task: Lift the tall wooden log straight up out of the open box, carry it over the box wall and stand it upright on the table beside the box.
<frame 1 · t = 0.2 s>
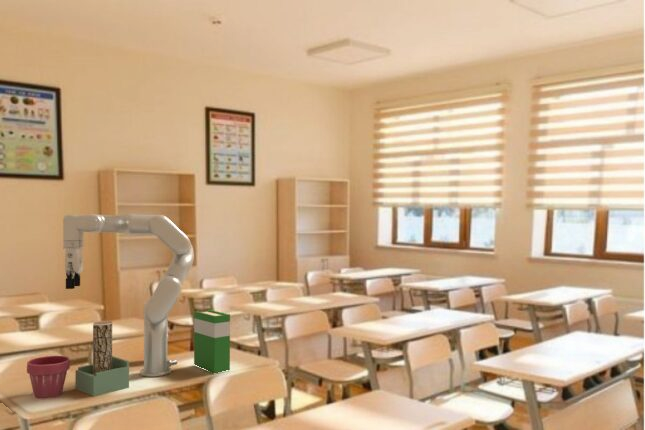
hand: (73, 287, 217), 37 cm above the table, tool pointing down, fingers open, 9 cm apart
open box: (102, 388, 205), on the table
wooden log: (102, 388, 205), resting in open box
plant pot: (48, 395, 197), on the table
plastic cup: (156, 361, 247), on the table
green cereal box: (211, 368, 234), on the table
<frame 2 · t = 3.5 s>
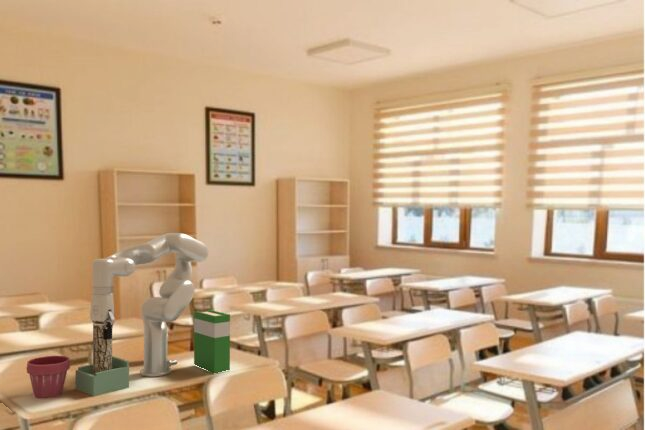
hand: (102, 337, 205), 19 cm above the table, tool pointing down, fingers closed on wooden log, 6 cm apart
wooden log: (102, 388, 205), resting in open box, touching gripper
everything else where it was.
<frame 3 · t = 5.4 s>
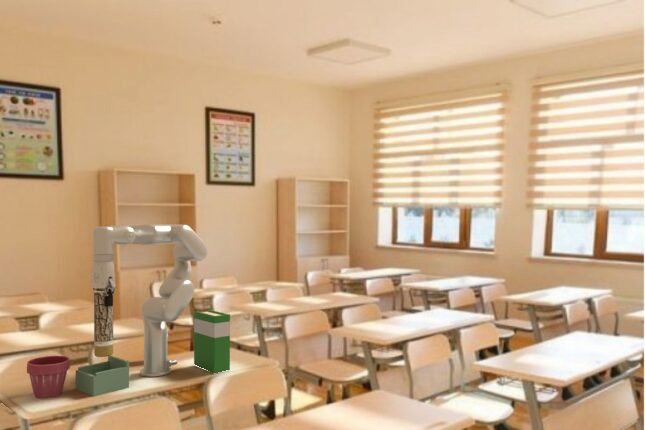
hand: (103, 304, 206), 32 cm above the table, tool pointing down, fingers closed on wooden log, 6 cm apart
wooden log: (103, 355, 206), point 12 cm above the table, touching gripper
everything else where it was.
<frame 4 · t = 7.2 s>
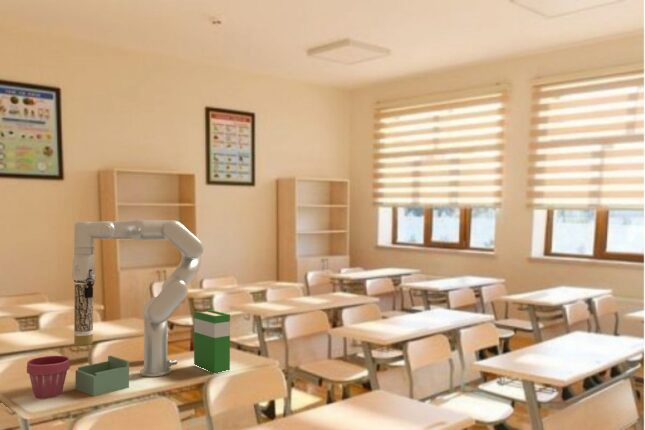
hand: (84, 296, 215), 34 cm above the table, tool pointing down, fingers closed on wooden log, 6 cm apart
wooden log: (83, 345, 215), point 14 cm above the table, touching gripper
everything else where it was.
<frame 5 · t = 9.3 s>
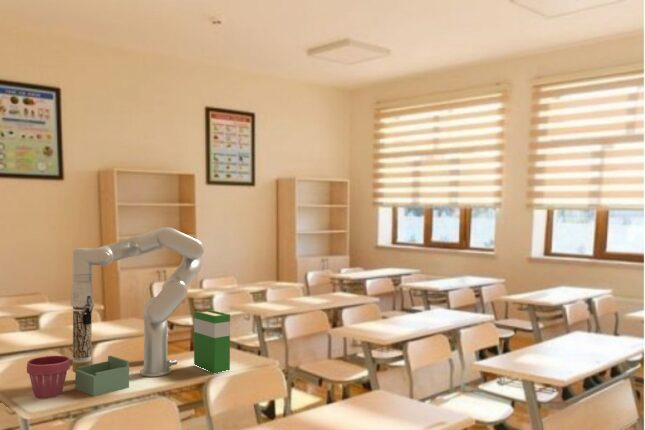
hand: (82, 322, 216), 23 cm above the table, tool pointing down, fingers closed on wooden log, 6 cm apart
wooden log: (81, 371, 215), point 4 cm above the table, touching gripper
everything else where it was.
when the fingers open (21 cm above the table, at t = 10.8 s): wooden log drops 1 cm, on the table.
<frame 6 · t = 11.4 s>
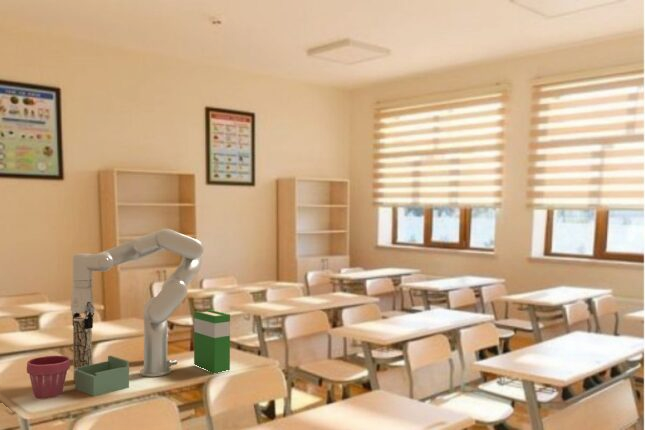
hand: (82, 327, 216), 21 cm above the table, tool pointing down, fingers open, 9 cm apart
wooden log: (82, 380, 215), on the table
everything else where it was.
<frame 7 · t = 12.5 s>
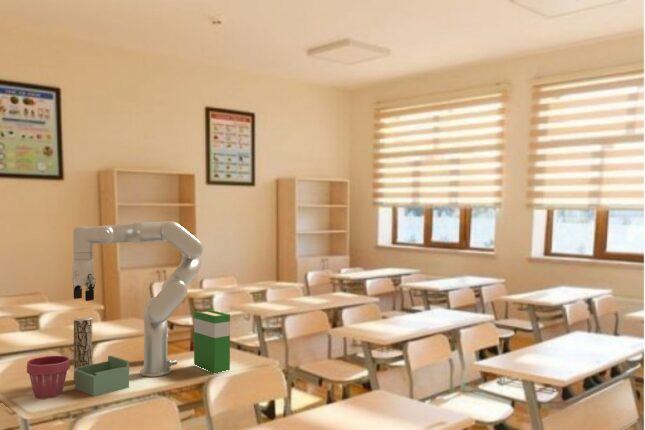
hand: (83, 299, 216), 32 cm above the table, tool pointing down, fingers open, 9 cm apart
nothing on the table moved.
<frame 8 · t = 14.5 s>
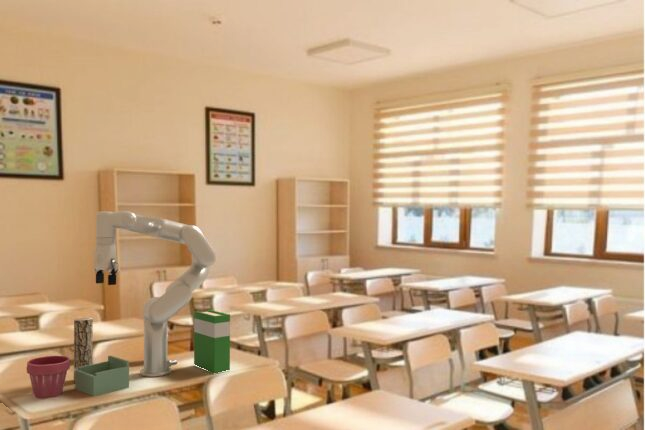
hand: (105, 284, 218), 38 cm above the table, tool pointing down, fingers open, 9 cm apart
nothing on the table moved.
at the end: wooden log inside the target area (0.3 cm from its centre), on the table; wooden log tilted 0°; the gripper is holding nothing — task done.
